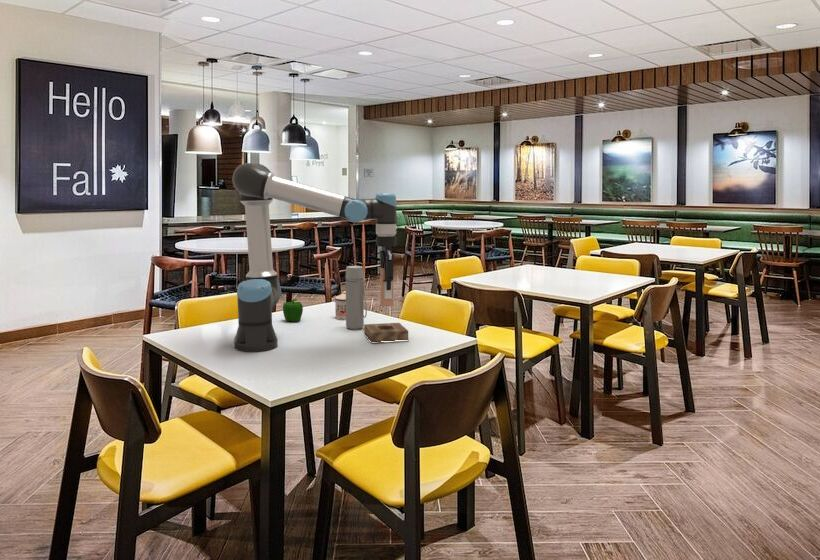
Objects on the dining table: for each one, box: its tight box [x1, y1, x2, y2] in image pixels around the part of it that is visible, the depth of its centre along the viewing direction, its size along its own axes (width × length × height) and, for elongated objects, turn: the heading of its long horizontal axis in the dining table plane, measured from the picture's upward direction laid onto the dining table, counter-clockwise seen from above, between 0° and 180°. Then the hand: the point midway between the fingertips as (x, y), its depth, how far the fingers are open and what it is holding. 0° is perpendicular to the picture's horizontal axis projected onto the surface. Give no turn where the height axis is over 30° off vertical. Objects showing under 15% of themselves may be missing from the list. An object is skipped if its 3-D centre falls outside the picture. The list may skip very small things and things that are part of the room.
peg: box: [379, 267, 394, 308], centre depth 233 cm, size 4×4×14 cm
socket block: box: [363, 322, 409, 343], centre depth 236 cm, size 14×14×4 cm
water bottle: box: [345, 265, 368, 330], centre depth 249 cm, size 9×8×25 cm
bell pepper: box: [282, 298, 304, 323], centre depth 263 cm, size 8×8×10 cm
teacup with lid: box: [334, 290, 346, 320], centre depth 270 cm, size 12×9×12 cm
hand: (386, 297), depth 234 cm, fingers closed on peg, 4 cm apart
